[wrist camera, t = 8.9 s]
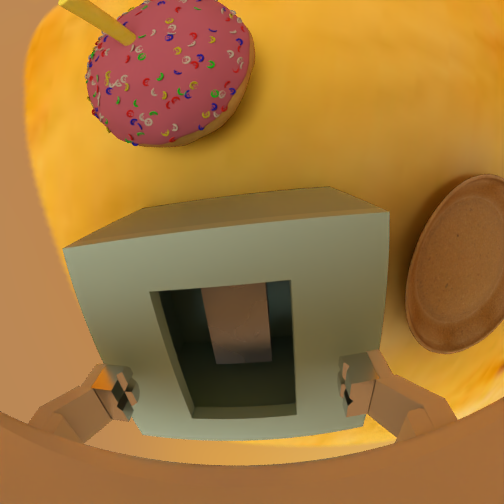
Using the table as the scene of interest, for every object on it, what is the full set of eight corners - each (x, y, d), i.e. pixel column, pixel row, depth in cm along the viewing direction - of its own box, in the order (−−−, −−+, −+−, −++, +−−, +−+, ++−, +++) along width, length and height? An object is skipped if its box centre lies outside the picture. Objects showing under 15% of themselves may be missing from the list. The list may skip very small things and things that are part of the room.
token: (263, 243, 18) (264, 275, 13) (269, 314, 19) (272, 361, 14) (215, 248, 18) (199, 280, 13) (225, 317, 19) (216, 364, 15)
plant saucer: (458, 354, 21) (470, 369, 19) (355, 305, 20) (366, 323, 17) (529, 229, 17) (546, 236, 15) (447, 132, 16) (468, 131, 13)
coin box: (329, 186, 17) (389, 211, 9) (331, 336, 20) (362, 426, 12) (142, 208, 18) (62, 248, 9) (176, 348, 21) (142, 434, 13)
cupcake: (104, 113, 16) (-38, 92, 4) (175, 13, 13) (99, -93, 2) (204, 175, 17) (103, 206, 6) (283, 67, 15) (317, -59, 3)
